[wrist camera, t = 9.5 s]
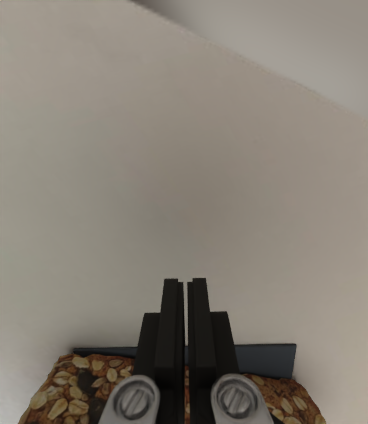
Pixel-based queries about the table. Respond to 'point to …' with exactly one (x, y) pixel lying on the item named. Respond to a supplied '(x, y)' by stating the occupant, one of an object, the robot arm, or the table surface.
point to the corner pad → (246, 356)
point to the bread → (123, 367)
